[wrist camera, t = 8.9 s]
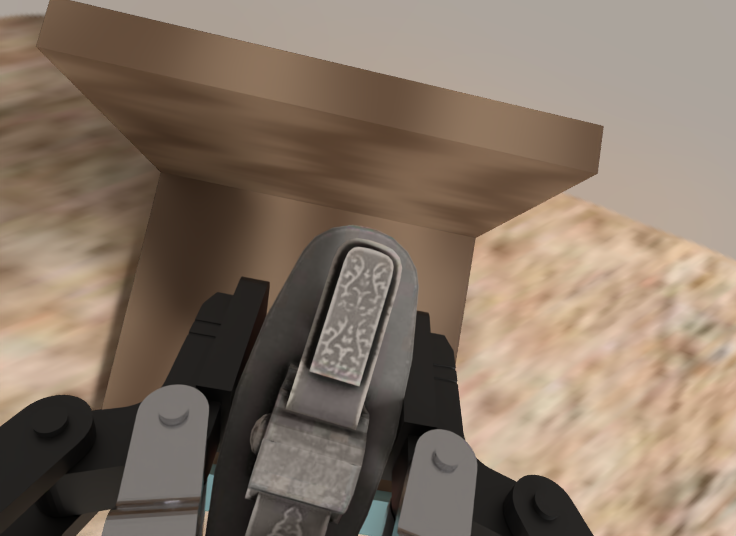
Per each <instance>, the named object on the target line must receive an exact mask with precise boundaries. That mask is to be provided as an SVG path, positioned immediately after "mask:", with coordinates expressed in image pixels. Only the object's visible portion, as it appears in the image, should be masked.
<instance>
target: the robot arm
mask: <svg viewBox="0 0 736 536" xmlns="http://www.w3.org/2000/svg"><path fill="white" fill-rule="evenodd" d="M269 289H270V282H269V281H264V280H259V279H253V278H248V277H243V276H242V277H241V278H240V280H239V283H238V285H237V287H236V290H235V292H234V295H231V294H226V293H220V292H216V293H215V294H214V295H213V296H211V297H210V298H209V299H208V300H206V301H205V302H204V303H203V304H202V306H201V308H200V310H199V312H198V314H197V316H196V318H195V321H194V322H193V324H192V326H191V328H190V330H189V334H188V335H187V337H186V339H185V341H184V343H183V345H182V347H181V349H180V351H179V353H178V355H177V357H176V359H175V361H174V364H173V366H172V368H171V370H170V372H169V374H168V376H167V378H166V380H165V382H164V384H163V385H162V387H161V388H159V389H157V390H155V391H154V392H152V393H151V394H149V395H148V396H147V397H146V398H145V399H144V400H143V401H142V402H140V403H137V404H134V405H131V406H127V407H120V408H111V409H102V410H93V411H92V410H91V408H90V406H89V405H88V404H87V403H86V402H85V401H84V400H82V399H80V398H78V397H75V396H70V395H56V396H50V397H46V398H43V399H40V400H38V401H36V402H34V403H32V404H30V405H29V406H27V407H26V408H24V409H23V410H22V411H20V412H19V413H18V414H16V415H15V416H14V417H12V418H11V419H10V420H8V421H7V422H6V423H4V424H3V425H2V426H0V536H76V535H77V534H78V533H79V532H80V531H81V530H82V529H83V528H84V526H85V525H86V524H87V523H88V522H89V521H90V520H91V519H92V518H93V517H94V516H95V515H96V514H97V513H98V512H99V511H103V510H108V509H111V510H110V511H109V513H108V515H107V518H106V521H105V524H104V528H103V532H102V536H203V528H204V517H205V505H206V494H207V482H208V476H209V473H210V471H211V468H212V464H213V461H214V458H215V455H216V452H220V448H221V444H222V441H223V437H224V433H225V429H226V425H227V421H228V418H229V414H230V410H231V406H232V402H233V398H234V395H235V391H236V388H237V386H238V383H239V381H240V378H241V376H242V374H243V371H244V369H245V366H246V364H247V361H248V359H249V357H250V354H251V352H252V349H253V347H254V345H255V342H256V340H257V337H258V335H259V333H260V330H261V328H262V325H263V323H264V320H265V318H266V316H267V307H268V298H269ZM455 368H456V366H455V357H454V351H453V349H452V347H451V345H450V344H449V342H448V340H447V339H446V337H445V335H441V334H436V333H431V328H430V315H429V313H428V312H423V311H418V310H417V312H416V323H415V334H414V345H413V355H412V362H411V367H410V372H409V377H408V381H407V386H406V391H405V396H404V400H403V405H402V410H401V414H400V419H399V424H398V429H397V433H396V438H395V440H394V443H393V446H392V449H391V452H390V454H389V457H388V460H387V463H386V466H385V468H384V471H383V474H382V477H381V479H383V480H389V481H392V497H391V499H390V501H389V503H388V506H387V509H386V513H385V517H384V521H383V525H382V529H381V533H380V536H593V534H592V532H591V531H590V529H589V527H588V526H587V524H586V523H585V521H584V519H583V518H582V516H581V515H580V513H579V511H578V510H577V508H576V506H575V505H574V503H573V502H572V500H571V499H570V497H569V496H568V494H567V493H566V492H565V491H564V490H563V489H562V488H561V487H560V486H559V485H558V484H556V483H555V482H553V481H552V480H550V479H548V478H546V477H543V476H539V475H527V476H524V477H522V478H521V479H519V480H518V481H517V482H516V481H514V480H512V479H510V478H508V477H506V476H504V475H502V474H500V473H498V472H496V471H494V470H492V469H490V468H488V467H487V466H485V465H484V464H483V463H481V462H480V461H479V460H478V459H477V458H476V456H475V454H474V452H473V450H472V448H471V447H470V445H469V444H468V443H467V442H466V441H465V438H464V433H463V425H462V417H461V408H460V400H459V391H458V384H457V374H456V371H455Z"/></svg>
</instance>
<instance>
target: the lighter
mask: <svg viewBox="0 0 736 536" xmlns="http://www.w3.org/2000/svg"><path fill="white" fill-rule="evenodd" d="M418 291H419V284H418V276H417V269H416V267H415V265H414V263H413V261H412V259H411V257H410V255H409V253H408V252H407V251H406V250H405V249H404V248H403V247H402V246H401V245H400V244H399V243H398V242H397V241H396V240H395V239H394V238H393V237H391V236H389V235H387V234H384V233H382V232H380V231H378V230H376V229H374V228H369V227H363V226H357V225H348V226H341V227H334V228H331V229H329V230H327V231H325V232H323V233H321V234H319V235H317V236H315V237H314V238H313V240H312V241H311V242H310V243H309V244H308V245H307V246H306V248H305V249H304V250H303V251H302V253H301V255H300V257H299V258H298V260H297V262H296V264H295V266H294V267H293V269H292V271H291V273H290V274H289V276H288V278H287V280H286V282H285V283H284V285H283V287H282V289H281V291H280V292H279V294H278V296H277V298H276V299H275V301H274V303H273V305H272V307H271V308H270V310H269V312H268V314H267V316H266V318H265V320H264V323H263V325H262V328H261V330H260V333H259V335H258V337H257V340H256V342H255V345H254V347H253V349H252V352H251V354H250V357H249V359H248V361H247V364H246V366H245V369H244V371H243V374H242V376H241V378H240V381H239V383H238V386H237V388H236V391H235V395H234V398H233V402H232V406H231V410H230V414H229V418H228V421H227V425H226V429H225V433H224V437H223V441H222V444H221V448H220V452H219V456H218V460H217V464H216V467H215V471H214V478H213V485H212V492H211V499H210V506H209V513H208V520H207V527H206V534H205V536H358V534H359V532H360V530H361V528H362V526H363V524H364V522H365V520H366V518H367V516H368V513H369V510H370V508H371V505H372V502H373V499H374V496H375V494H376V491H377V488H378V485H379V482H380V480H381V477H382V474H383V471H384V468H385V466H386V463H387V460H388V457H389V454H390V452H391V449H392V446H393V443H394V440H395V438H396V433H397V429H398V424H399V419H400V414H401V410H402V405H403V400H404V396H405V391H406V386H407V381H408V377H409V372H410V367H411V362H412V355H413V345H414V334H415V323H416V312H417V301H418Z"/></svg>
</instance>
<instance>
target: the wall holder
mask: <svg viewBox="0 0 736 536" xmlns="http://www.w3.org/2000/svg"><path fill="white" fill-rule="evenodd" d="M36 47H37V48H38V49H39V50H40V51H41V52H42V53H43V54H44V55H45V56H46V57H47V58H48V59H49V60H50V61H51V62H52V63H53V64H54V65H55V66H56V67H57V68H58V69H59V70H60V71H61V72H62V73H63V74H64V75H65V76H66V77H67V78H68V79H69V80H70V81H71V82H72V83H73V84H74V85H75V86H76V87H77V88H78V89H79V90H80V91H81V92H82V93H83V94H84V95H85V96H86V97H87V98H88V99H89V100H90V101H91V102H92V103H93V104H94V105H95V106H96V107H97V108H98V109H99V110H100V111H101V112H102V113H103V114H104V115H105V116H106V117H107V118H108V119H109V120H110V121H111V122H112V123H113V124H114V125H115V126H116V127H117V128H118V129H119V130H120V131H121V133H122V134H123V135H124V136H125V137H126V138H127V139H128V140H129V141H130V142H131V143H132V144H133V145H134V146H135V147H136V148H137V149H138V150H139V151H140V152H141V153H142V154H143V155H144V156H145V157H146V158H147V159H148V160H149V161H150V162H151V163H152V164H153V165H154V166H155V167H156V168H157V169H158V170H159V171H160V172H161V174H160V178H159V182H158V186H157V190H156V194H155V198H154V202H153V206H152V210H151V214H150V218H149V222H148V226H147V230H146V234H145V238H144V242H143V246H142V250H141V254H140V258H139V262H138V266H137V270H136V274H135V278H134V282H133V286H132V290H131V294H130V298H129V302H128V306H127V310H126V314H125V318H124V322H123V326H122V330H121V334H120V338H119V342H118V346H117V350H116V354H115V358H114V362H113V366H112V370H111V374H110V378H109V382H108V386H107V390H106V394H105V398H104V402H103V406H102V409H111V408H120V407H127V406H131V405H134V404H137V403H140V402H142V401H143V400H144V399H145V398H146V397H147V396H148V395H149V394H151V393H152V392H154V391H155V390H157V389H159V388H161V387H162V385H163V384H164V382H165V380H166V378H167V376H168V374H169V372H170V370H171V368H172V366H173V364H174V361H175V359H176V357H177V355H178V353H179V351H180V349H181V347H182V345H183V343H184V341H185V339H186V337H187V335H188V334H189V330H190V328H191V326H192V324H193V322H194V321H195V318H196V316H197V314H198V312H199V310H200V308H201V306H202V304H203V303H204V302H205V301H206V300H208V299H209V298H210V297H211V296H213V295H214V294H215V293H216V292H220V293H226V294H231V295H234V292H235V290H236V287H237V285H238V283H239V280H240V278H241V277H242V276H243V277H248V278H253V279H259V280H264V281H269V282H270V289H269V298H268V307H267V314H268V312H269V310H270V308H271V307H272V305H273V303H274V301H275V299H276V298H277V296H278V294H279V292H280V291H281V289H282V287H283V285H284V283H285V282H286V280H287V278H288V276H289V274H290V273H291V271H292V269H293V267H294V266H295V264H296V262H297V260H298V258H299V257H300V255H301V253H302V251H303V250H304V249H305V248H306V246H307V245H308V244H309V243H310V242H311V241H312V240H313V238H314V237H315V236H317V235H319V234H321V233H323V232H325V231H327V230H329V229H331V228H334V227H341V226H348V225H357V226H363V227H369V228H374V229H376V230H378V231H380V232H382V233H384V234H387V235H389V236H391V237H393V238H394V239H395V240H396V241H397V242H398V243H399V244H400V245H401V246H402V247H403V248H404V249H405V250H406V251H407V252H408V253H409V255H410V257H411V259H412V261H413V263H414V265H415V267H416V269H417V276H418V284H419V291H418V301H417V310H418V311H423V312H428V313H429V315H430V328H431V333H436V334H441V335H445V337H446V339H447V340H448V342H449V344H450V345H451V347H452V349H453V351H454V357H455V364H456V358H457V352H458V345H459V339H460V333H461V326H462V320H463V314H464V308H465V301H466V295H467V289H468V282H469V276H470V270H471V263H472V257H473V251H474V245H475V238H476V237H478V236H480V235H482V234H484V233H486V232H488V231H490V230H492V229H493V228H495V227H497V226H499V225H501V224H503V223H505V222H507V221H509V220H511V219H512V218H514V217H516V216H518V215H520V214H522V213H524V212H526V211H528V210H529V209H531V208H533V207H535V206H537V205H539V204H541V203H543V202H545V201H547V200H548V199H550V198H552V197H554V196H556V195H558V194H560V193H562V192H564V191H565V190H567V189H569V188H571V187H573V186H575V185H577V184H579V183H580V182H583V181H584V180H586V179H588V178H590V177H592V176H594V175H596V174H597V173H598V166H599V158H600V150H601V142H602V134H603V126H601V125H597V124H593V123H589V122H584V121H580V120H576V119H572V118H567V117H563V116H558V115H555V114H550V113H546V112H542V111H538V110H533V109H529V108H525V107H521V106H517V105H512V104H508V103H504V102H499V101H495V100H491V99H487V98H482V97H478V96H474V95H470V94H466V93H461V92H457V91H453V90H449V89H444V88H440V87H436V86H431V85H427V84H423V83H419V82H415V81H410V80H406V79H402V78H398V77H393V76H389V75H385V74H380V73H376V72H372V71H368V70H364V69H360V68H355V67H351V66H347V65H342V64H338V63H334V62H330V61H326V60H321V59H317V58H313V57H309V56H304V55H300V54H296V53H292V52H287V51H283V50H279V49H275V48H270V47H266V46H262V45H258V44H253V43H249V42H245V41H240V40H237V39H232V38H228V37H224V36H220V35H215V34H211V33H207V32H203V31H198V30H194V29H190V28H185V27H181V26H177V25H173V24H169V23H164V22H160V21H156V20H151V19H147V18H143V17H139V16H134V15H130V14H126V13H122V12H118V11H113V10H109V9H105V8H101V7H96V6H92V5H88V4H84V3H80V2H75V1H70V0H50V1H49V4H48V8H47V11H46V14H45V18H44V21H43V25H42V28H41V31H40V35H39V38H38V41H37V45H36ZM218 456H219V452H216V455H215V458H214V461H213V464H212V468H211V471H210V473H209V476H208V482H207V494H206V505H205V511H209V506H210V499H211V492H212V485H213V478H214V471H215V467H216V464H217V460H218ZM391 497H392V481H389V480H383V479H381V480H380V482H379V485H378V488H377V491H376V494H375V496H374V499H373V502H372V505H371V508H370V510H369V513H368V516H367V518H366V520H365V522H364V524H363V526H362V528H361V530H360V532H359V534H362V535H369V536H380V533H381V529H382V525H383V521H384V517H385V513H386V509H387V506H388V503H389V501H390V499H391Z"/></svg>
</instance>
